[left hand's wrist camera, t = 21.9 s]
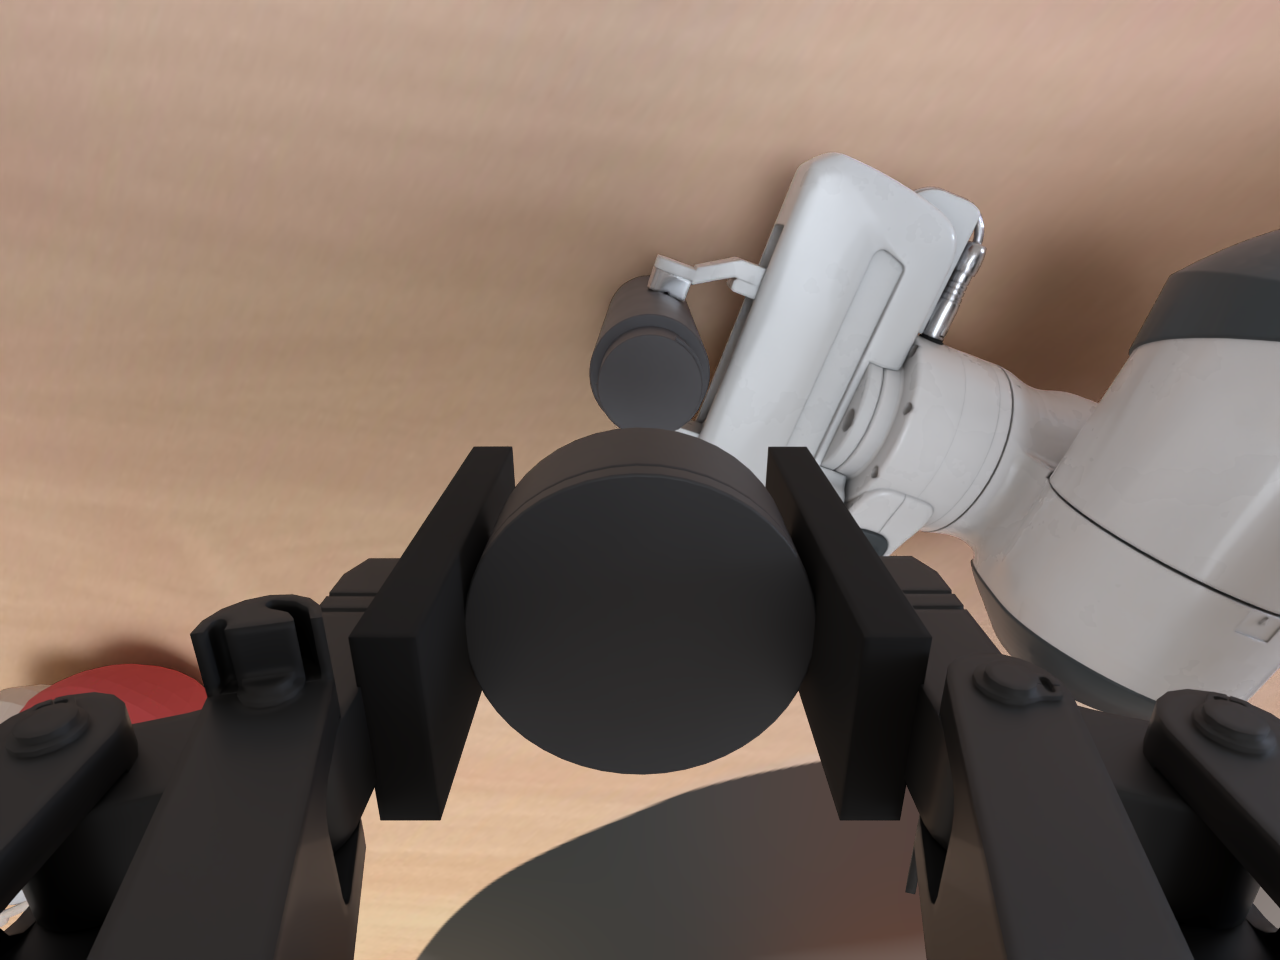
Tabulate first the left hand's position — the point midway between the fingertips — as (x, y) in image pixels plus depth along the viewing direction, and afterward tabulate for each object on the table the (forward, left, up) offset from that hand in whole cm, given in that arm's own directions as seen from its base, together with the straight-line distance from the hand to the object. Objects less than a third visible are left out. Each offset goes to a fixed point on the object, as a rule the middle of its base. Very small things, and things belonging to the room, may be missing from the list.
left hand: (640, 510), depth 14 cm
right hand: (0, 0, -20) cm, 20 cm away
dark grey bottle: (0, 0, -27) cm, 27 cm away
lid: (0, 0, +4) cm, 4 cm away
